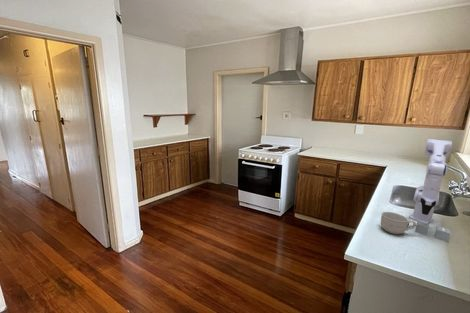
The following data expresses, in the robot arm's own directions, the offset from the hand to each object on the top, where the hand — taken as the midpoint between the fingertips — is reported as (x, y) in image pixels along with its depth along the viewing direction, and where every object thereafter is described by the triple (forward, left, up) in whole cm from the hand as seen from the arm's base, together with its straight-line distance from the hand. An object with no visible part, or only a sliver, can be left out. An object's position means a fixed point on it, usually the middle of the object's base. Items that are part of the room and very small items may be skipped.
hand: (424, 214), depth 110 cm
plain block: (0, +1, -10) cm, 10 cm away
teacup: (+12, -6, -10) cm, 16 cm away
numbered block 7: (+2, -7, -10) cm, 12 cm away
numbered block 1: (-2, +7, -10) cm, 12 cm away
